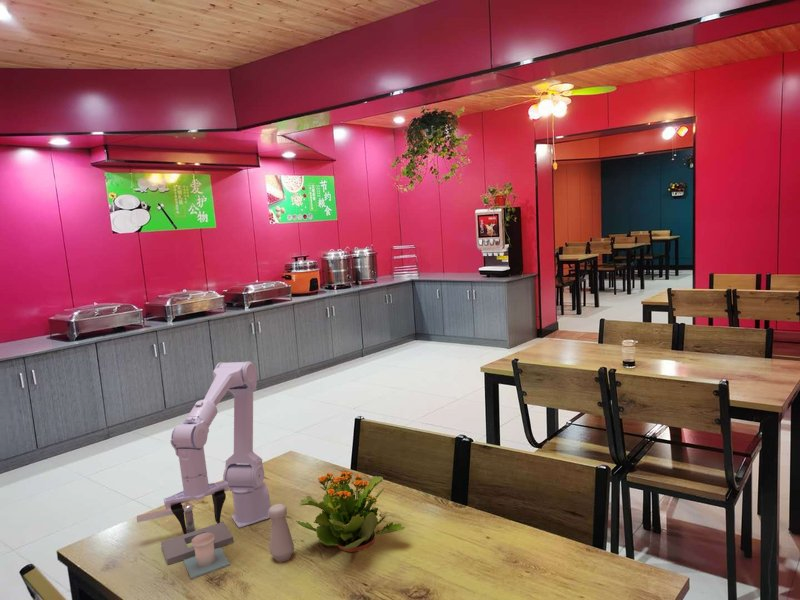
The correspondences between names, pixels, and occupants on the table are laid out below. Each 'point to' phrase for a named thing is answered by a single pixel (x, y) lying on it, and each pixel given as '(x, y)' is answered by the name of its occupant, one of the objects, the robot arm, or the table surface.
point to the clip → (162, 513)
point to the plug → (204, 549)
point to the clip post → (189, 521)
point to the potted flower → (347, 513)
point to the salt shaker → (280, 534)
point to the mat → (199, 571)
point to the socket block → (177, 546)
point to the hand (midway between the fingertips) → (201, 526)
